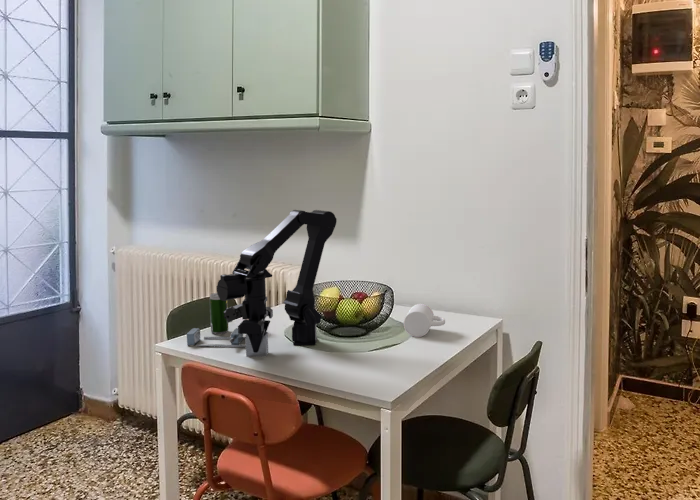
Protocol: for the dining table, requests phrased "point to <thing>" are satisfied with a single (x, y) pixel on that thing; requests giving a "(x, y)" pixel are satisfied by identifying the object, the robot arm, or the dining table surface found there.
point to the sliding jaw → (236, 337)
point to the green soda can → (218, 314)
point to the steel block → (262, 349)
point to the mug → (421, 320)
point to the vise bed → (194, 337)
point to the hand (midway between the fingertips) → (257, 350)
